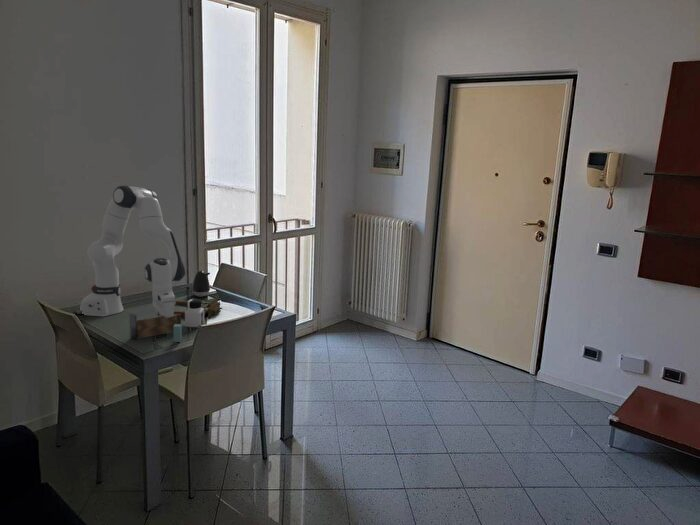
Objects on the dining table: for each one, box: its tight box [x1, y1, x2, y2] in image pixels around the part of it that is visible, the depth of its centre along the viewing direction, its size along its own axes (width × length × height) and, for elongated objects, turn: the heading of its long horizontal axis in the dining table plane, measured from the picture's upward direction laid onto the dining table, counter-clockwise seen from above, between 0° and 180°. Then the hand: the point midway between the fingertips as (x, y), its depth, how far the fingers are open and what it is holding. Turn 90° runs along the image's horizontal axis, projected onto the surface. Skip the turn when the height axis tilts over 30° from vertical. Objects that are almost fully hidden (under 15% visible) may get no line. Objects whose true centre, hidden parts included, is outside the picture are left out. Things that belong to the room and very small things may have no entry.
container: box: [184, 298, 205, 328], centre depth 260 cm, size 8×8×13 cm
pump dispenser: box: [191, 270, 211, 298], centre depth 307 cm, size 10×10×15 cm
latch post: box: [173, 323, 183, 343], centre depth 238 cm, size 3×3×8 cm
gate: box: [137, 314, 182, 339], centre depth 244 cm, size 20×2×8 cm, turn 128°
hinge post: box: [128, 313, 138, 341], centre depth 237 cm, size 3×3×12 cm
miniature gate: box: [157, 297, 223, 320], centre depth 279 cm, size 27×6×30 cm
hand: (163, 320), depth 248 cm, fingers closed
